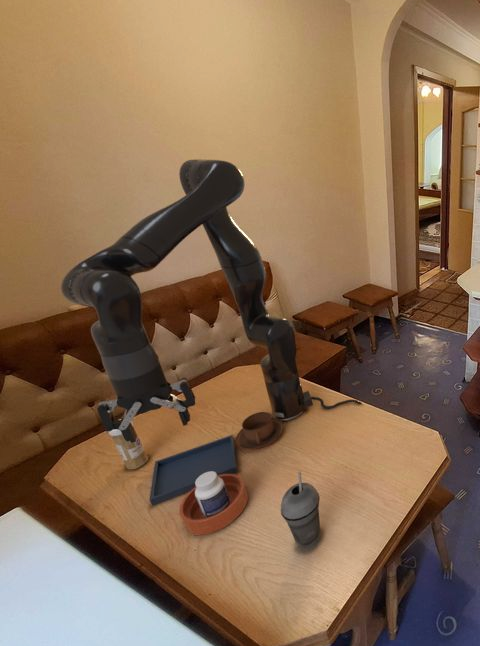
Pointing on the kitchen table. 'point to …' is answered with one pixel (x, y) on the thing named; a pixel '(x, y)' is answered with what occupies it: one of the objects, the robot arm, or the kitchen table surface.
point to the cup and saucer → (259, 431)
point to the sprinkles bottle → (129, 450)
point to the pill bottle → (211, 494)
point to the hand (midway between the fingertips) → (160, 431)
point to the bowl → (203, 525)
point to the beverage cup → (302, 514)
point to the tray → (191, 468)
